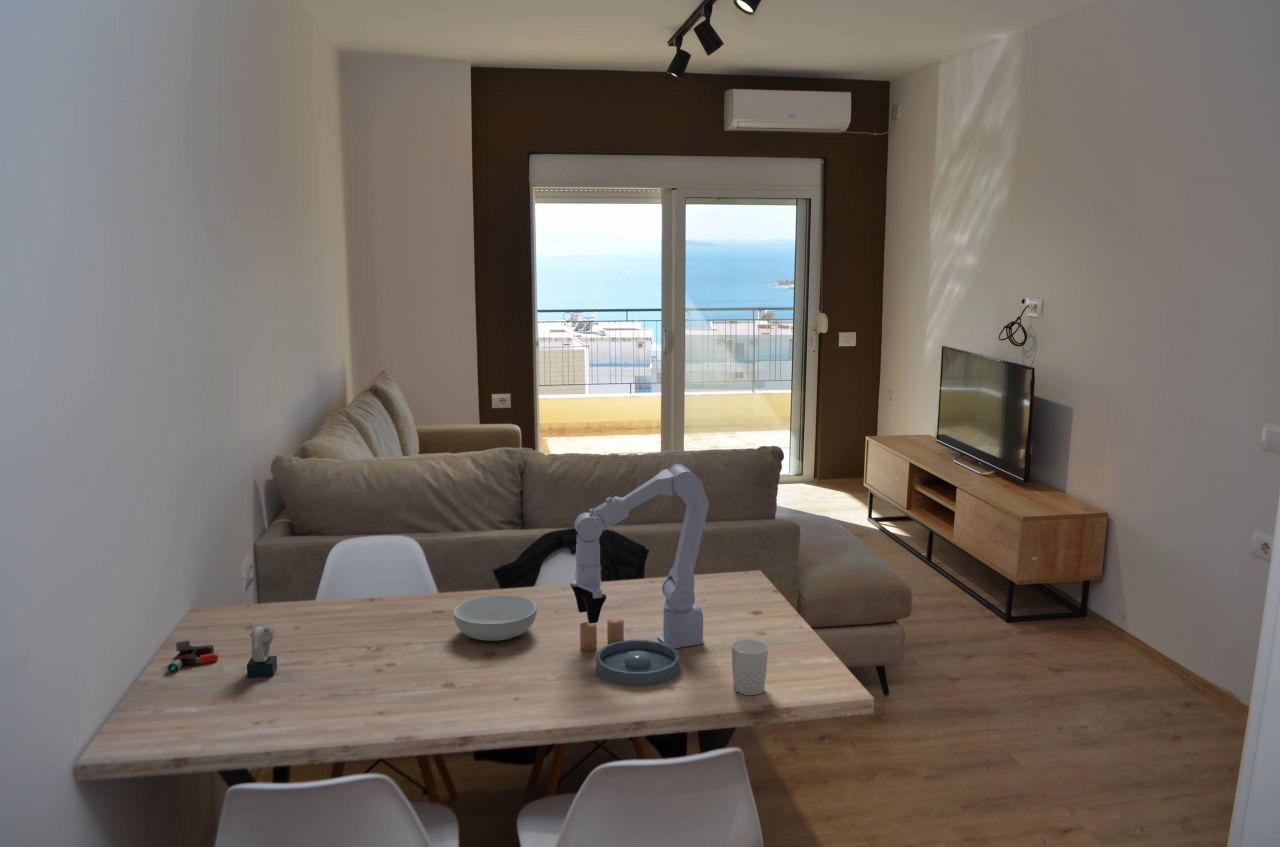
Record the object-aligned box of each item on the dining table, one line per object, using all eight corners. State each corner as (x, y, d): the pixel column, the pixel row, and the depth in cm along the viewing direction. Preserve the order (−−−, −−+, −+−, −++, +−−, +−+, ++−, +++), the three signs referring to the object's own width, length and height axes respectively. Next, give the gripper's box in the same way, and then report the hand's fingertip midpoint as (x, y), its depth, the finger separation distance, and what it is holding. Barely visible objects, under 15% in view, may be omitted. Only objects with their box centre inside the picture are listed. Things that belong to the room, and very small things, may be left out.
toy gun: (163, 675, 217) (161, 655, 216) (185, 654, 229) (184, 634, 228) (207, 674, 217) (205, 654, 217) (226, 653, 229) (225, 634, 228)
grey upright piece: (279, 665, 222) (276, 620, 220) (271, 679, 214) (268, 633, 212) (253, 666, 221) (250, 621, 219) (245, 681, 213) (242, 634, 211)
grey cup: (743, 700, 205) (744, 656, 204) (724, 685, 212) (725, 643, 211) (774, 692, 209) (775, 649, 207) (753, 678, 216) (754, 637, 214)
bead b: (620, 640, 237) (620, 617, 236) (625, 646, 234) (625, 622, 233) (605, 642, 236) (605, 619, 235) (610, 648, 232) (610, 625, 231)
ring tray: (659, 647, 233) (659, 635, 233) (691, 678, 216) (692, 665, 215) (585, 658, 226) (585, 646, 226) (612, 691, 209) (612, 678, 208)
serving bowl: (527, 615, 254) (527, 590, 253) (545, 644, 235) (545, 618, 233) (449, 624, 248) (448, 598, 247) (460, 655, 228) (459, 628, 227)
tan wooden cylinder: (593, 644, 235) (593, 620, 234) (598, 650, 231) (598, 626, 230) (578, 646, 233) (578, 623, 232) (583, 652, 230) (583, 629, 229)
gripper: (563, 556, 234) (563, 609, 236) (581, 574, 221) (581, 629, 223) (590, 553, 237) (590, 605, 239) (610, 570, 223) (610, 625, 225)
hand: (588, 617), depth 231 cm, fingers open, 7 cm apart
